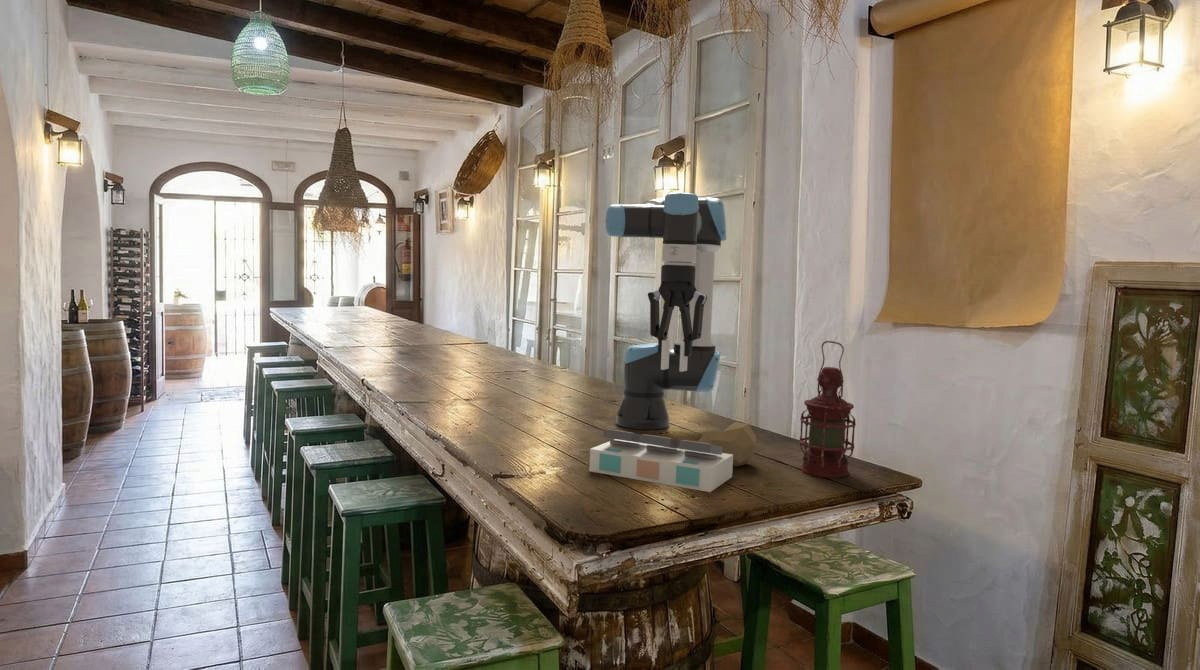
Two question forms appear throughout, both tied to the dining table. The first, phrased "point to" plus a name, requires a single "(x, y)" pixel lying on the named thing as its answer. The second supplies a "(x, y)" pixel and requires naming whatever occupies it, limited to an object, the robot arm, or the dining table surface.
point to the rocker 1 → (621, 435)
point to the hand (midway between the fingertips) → (673, 369)
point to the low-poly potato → (733, 441)
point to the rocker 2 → (700, 447)
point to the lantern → (827, 426)
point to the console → (662, 464)
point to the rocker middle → (659, 441)
